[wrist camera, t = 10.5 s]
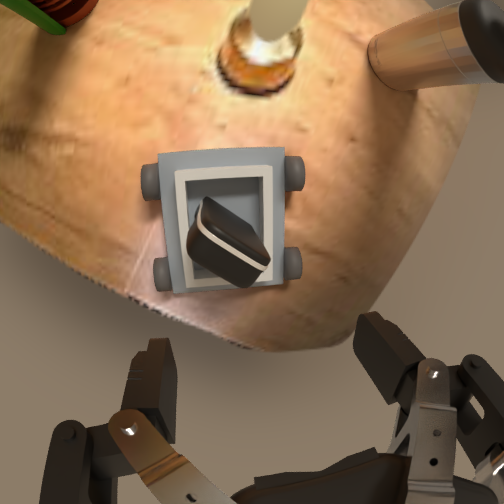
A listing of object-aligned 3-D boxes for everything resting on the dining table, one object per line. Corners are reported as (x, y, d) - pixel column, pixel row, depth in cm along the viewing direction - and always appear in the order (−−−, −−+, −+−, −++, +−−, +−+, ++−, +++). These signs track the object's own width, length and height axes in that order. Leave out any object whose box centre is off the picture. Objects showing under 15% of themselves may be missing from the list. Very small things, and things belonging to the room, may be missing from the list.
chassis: (294, 147, 32) (305, 147, 28) (291, 277, 38) (300, 291, 35) (146, 155, 29) (138, 156, 26) (162, 288, 36) (158, 304, 32)
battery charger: (185, 220, 32) (176, 260, 21) (204, 193, 31) (204, 218, 20) (235, 252, 34) (250, 302, 23) (254, 226, 33) (278, 266, 23)
